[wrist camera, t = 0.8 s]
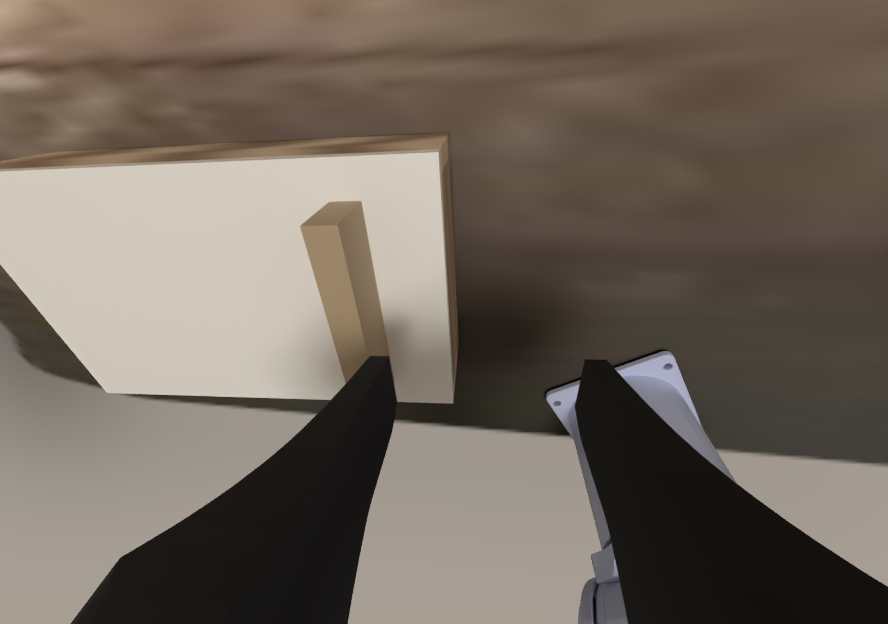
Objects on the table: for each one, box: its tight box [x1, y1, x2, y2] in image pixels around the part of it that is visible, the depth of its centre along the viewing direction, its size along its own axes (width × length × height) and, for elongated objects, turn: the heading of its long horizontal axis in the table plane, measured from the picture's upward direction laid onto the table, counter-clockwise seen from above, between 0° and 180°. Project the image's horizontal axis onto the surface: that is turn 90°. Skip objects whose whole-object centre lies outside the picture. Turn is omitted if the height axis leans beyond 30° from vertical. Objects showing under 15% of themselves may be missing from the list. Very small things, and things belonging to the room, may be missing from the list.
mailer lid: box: [0, 150, 454, 404], centre depth 15 cm, size 20×12×3 cm, turn 93°
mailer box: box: [0, 132, 459, 390], centre depth 18 cm, size 20×12×4 cm, turn 93°
